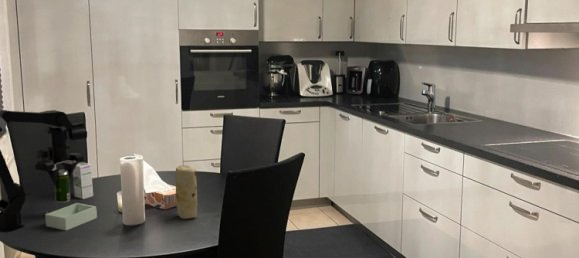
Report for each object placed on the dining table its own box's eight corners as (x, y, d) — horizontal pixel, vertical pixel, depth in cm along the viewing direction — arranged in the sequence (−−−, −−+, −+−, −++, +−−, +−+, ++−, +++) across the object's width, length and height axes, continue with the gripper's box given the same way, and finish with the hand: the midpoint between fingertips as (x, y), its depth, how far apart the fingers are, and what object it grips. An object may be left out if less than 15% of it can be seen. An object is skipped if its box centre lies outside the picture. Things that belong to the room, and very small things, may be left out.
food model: (201, 216, 214) (200, 166, 210) (189, 221, 208) (188, 169, 205) (183, 212, 219) (181, 162, 215) (170, 216, 213) (169, 166, 210)
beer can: (72, 198, 217) (70, 169, 215) (68, 203, 212) (66, 172, 210) (58, 199, 216) (55, 169, 214) (53, 203, 211) (51, 172, 209)
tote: (66, 230, 198) (65, 218, 198) (46, 226, 203) (45, 214, 202) (96, 217, 212) (96, 206, 211) (77, 214, 216) (76, 202, 215)
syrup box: (93, 196, 239) (91, 163, 237) (82, 199, 234) (80, 166, 232) (85, 194, 242) (83, 161, 240) (73, 197, 237) (71, 164, 235)
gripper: (62, 137, 222) (65, 175, 224) (22, 146, 205) (26, 186, 208) (83, 139, 217) (86, 178, 220) (44, 149, 200) (47, 190, 203)
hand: (61, 183), depth 213 cm, fingers closed on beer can, 5 cm apart
